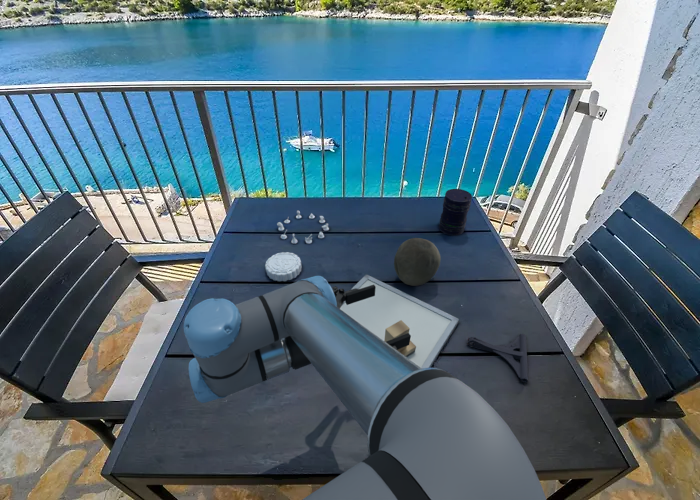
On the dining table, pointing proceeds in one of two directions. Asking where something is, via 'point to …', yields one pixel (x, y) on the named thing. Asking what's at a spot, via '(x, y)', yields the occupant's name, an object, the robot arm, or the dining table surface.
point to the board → (403, 319)
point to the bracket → (508, 353)
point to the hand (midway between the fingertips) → (390, 312)
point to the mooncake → (283, 266)
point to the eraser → (400, 330)
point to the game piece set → (308, 240)
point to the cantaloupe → (416, 261)
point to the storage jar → (455, 211)
